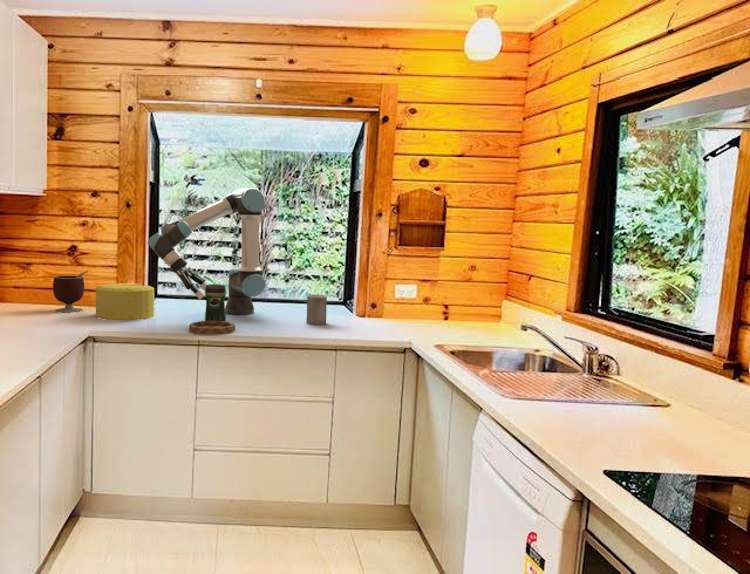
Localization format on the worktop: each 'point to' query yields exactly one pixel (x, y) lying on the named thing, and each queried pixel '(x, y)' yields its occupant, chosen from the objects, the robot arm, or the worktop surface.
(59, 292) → the mate gourd
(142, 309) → the cheese
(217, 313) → the coffee jar
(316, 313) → the pillar candle
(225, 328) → the tray
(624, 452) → the worktop surface
